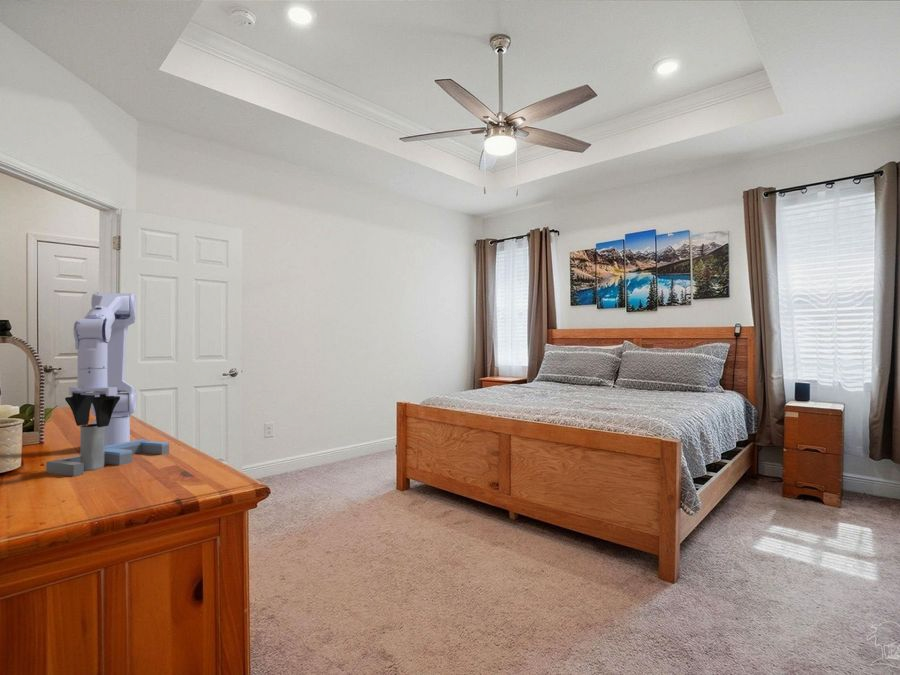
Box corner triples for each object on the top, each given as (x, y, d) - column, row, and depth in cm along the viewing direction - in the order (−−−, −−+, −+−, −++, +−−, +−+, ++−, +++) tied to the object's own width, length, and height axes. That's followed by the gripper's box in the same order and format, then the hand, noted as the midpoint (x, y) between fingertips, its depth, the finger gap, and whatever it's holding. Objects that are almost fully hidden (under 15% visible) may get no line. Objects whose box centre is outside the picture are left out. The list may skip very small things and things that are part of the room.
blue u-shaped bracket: (92, 452, 118) (92, 448, 118) (143, 442, 130) (143, 438, 130) (119, 455, 114) (119, 451, 114) (169, 444, 126) (169, 440, 126)
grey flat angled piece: (46, 472, 108) (46, 461, 108) (143, 451, 130) (143, 442, 130) (73, 476, 104) (73, 464, 105) (169, 454, 126) (169, 444, 126)
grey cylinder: (109, 466, 113) (109, 423, 114) (93, 471, 109) (93, 426, 109) (91, 466, 114) (92, 423, 114) (75, 470, 109) (75, 426, 110)
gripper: (54, 369, 111) (54, 427, 111) (94, 369, 106) (94, 430, 105) (87, 368, 117) (86, 422, 117) (126, 368, 112) (126, 425, 112)
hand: (92, 425), depth 112 cm, fingers open, 7 cm apart
